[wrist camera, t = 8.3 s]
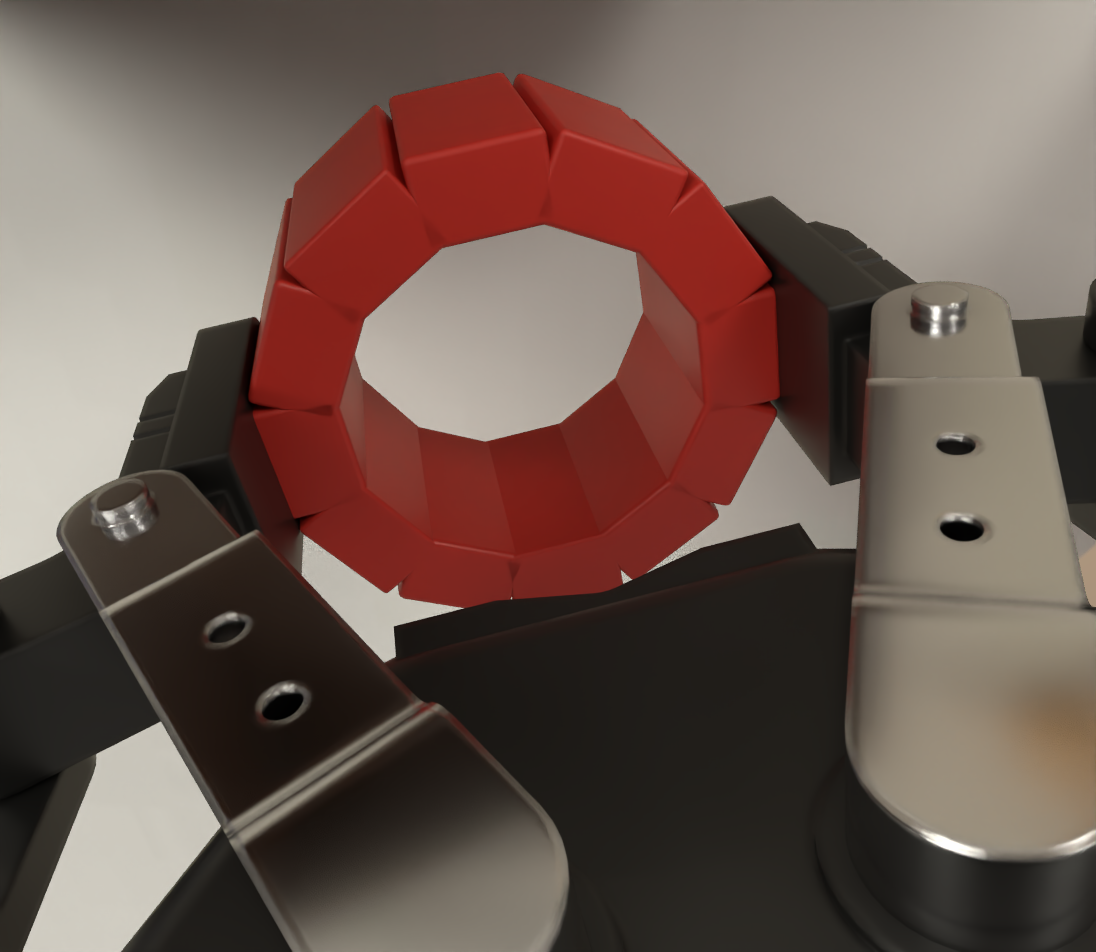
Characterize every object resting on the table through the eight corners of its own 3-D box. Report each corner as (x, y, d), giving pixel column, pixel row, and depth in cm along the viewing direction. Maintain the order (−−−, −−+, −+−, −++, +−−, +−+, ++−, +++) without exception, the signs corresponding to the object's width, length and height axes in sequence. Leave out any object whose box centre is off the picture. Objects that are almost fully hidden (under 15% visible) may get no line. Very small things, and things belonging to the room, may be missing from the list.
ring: (683, 29, 12) (771, 75, 10) (719, 437, 16) (790, 547, 13) (200, 138, 12) (164, 214, 10) (344, 530, 15) (345, 661, 13)
